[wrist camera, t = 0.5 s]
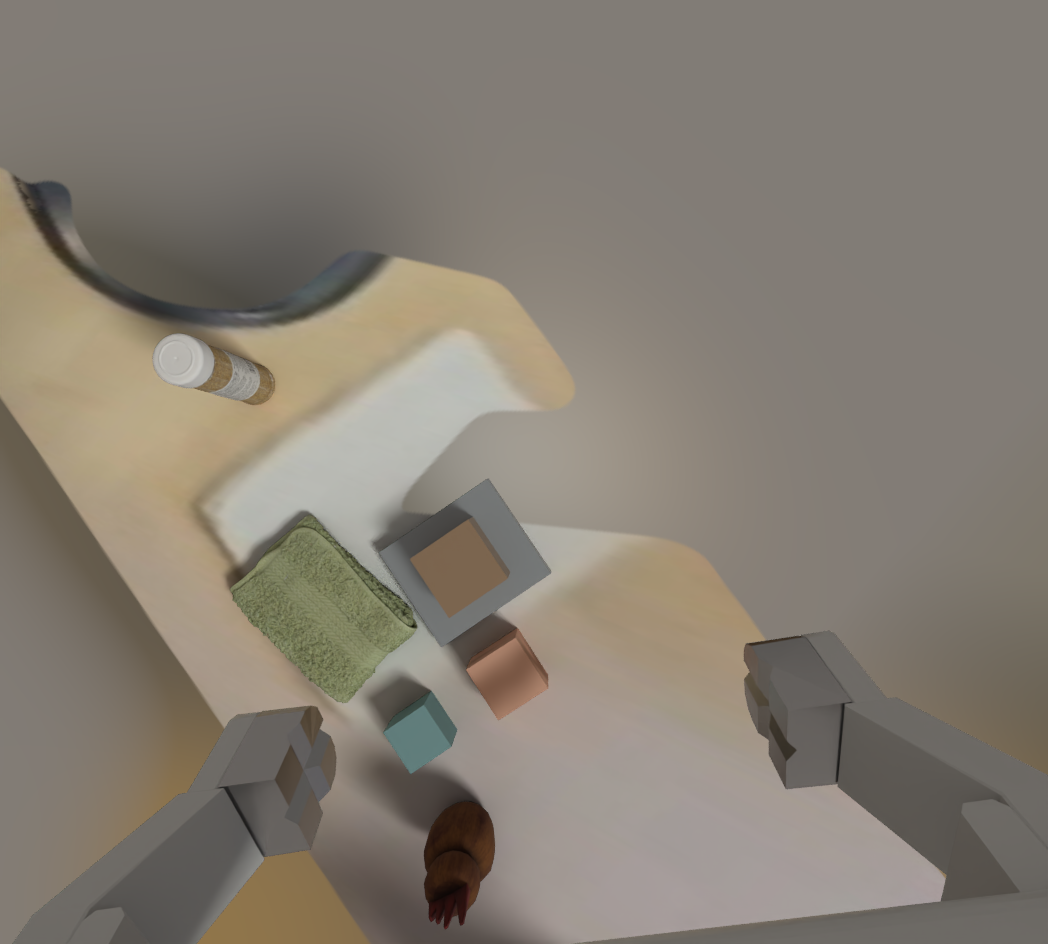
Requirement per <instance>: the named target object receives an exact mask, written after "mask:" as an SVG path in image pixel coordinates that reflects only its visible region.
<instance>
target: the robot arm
mask: <svg viewBox="0 0 1048 944" xmlns="http://www.w3.org/2000/svg"><path fill="white" fill-rule="evenodd" d="M744 662H745V663H746V665H747V667H748V669H749V671H750V672H749V673H748V675H747V676H746V677H745V679H744V686H745V696H746V701H747V706H748V710H749V712H750V715H751V718H752V721H753V723H754V725H755V727H756V729H757V731H758V733H759V734H761V735H762V736H764V737H765V738H767V739H768V740H769V756H770V758H771V760H772V762H773V764H774V766H775V768H776V770H777V772H778V774H779V776H780V778H781V780H782V782H783V784H784V786H785V788H786V789H793V788H803V787H813V786H823V785H833V784H838V787H839V788H840V789H841V790H842V791H843V792H845V793H846V794H847V795H848V796H850V797H851V798H852V799H853V800H855V801H856V802H857V803H858V804H860V805H861V806H862V807H863V808H864V809H866V810H867V811H868V812H869V813H871V814H872V815H873V816H874V817H876V818H877V819H878V820H879V821H880V822H882V823H883V824H884V825H885V826H887V827H888V828H889V829H890V830H892V831H893V832H894V833H895V834H897V835H898V836H899V837H900V838H901V839H903V840H904V841H905V842H906V843H908V844H909V845H910V846H911V847H913V848H914V849H915V850H916V851H918V852H919V853H920V854H921V855H922V856H924V857H925V858H926V859H927V860H929V861H930V862H931V863H932V864H934V865H935V866H936V867H937V868H938V869H940V870H941V871H942V872H943V873H945V874H946V875H947V876H946V880H945V885H944V889H943V894H942V898H941V902H932V903H924V904H915V905H906V906H898V907H889V908H880V909H871V910H863V911H854V912H845V913H837V914H828V915H819V916H810V917H802V918H793V919H784V920H776V921H767V922H758V923H749V924H741V925H732V926H723V927H715V928H706V929H697V930H688V931H680V932H671V933H662V934H654V935H645V936H636V937H627V938H619V939H610V940H601V941H592V942H584V943H575V944H1048V775H1047V774H1045V773H1043V772H1041V771H1039V770H1037V769H1035V768H1033V767H1031V766H1029V765H1027V764H1025V763H1023V762H1021V761H1020V760H1017V759H1016V758H1013V757H1012V756H1010V755H1008V754H1006V753H1004V752H1002V751H1000V750H998V749H996V748H994V747H992V746H990V745H988V744H986V743H984V742H982V741H980V740H978V739H977V738H975V737H973V736H971V735H969V734H967V733H965V732H963V731H961V730H959V729H957V728H955V727H953V726H951V725H949V724H947V723H945V722H943V721H941V720H939V719H937V718H935V717H934V716H931V715H930V714H928V713H926V712H924V711H922V710H920V709H918V708H916V707H914V706H912V705H910V704H908V703H906V702H904V701H902V700H900V699H898V698H887V697H886V696H885V695H884V694H883V692H882V691H881V690H880V689H879V688H878V686H877V685H876V684H875V683H874V681H873V680H872V679H871V678H870V676H868V674H867V673H866V671H864V669H863V668H862V667H861V665H860V664H859V663H858V662H857V660H856V659H855V658H854V657H853V655H852V654H851V653H850V652H849V650H848V649H847V648H846V647H845V646H844V645H843V643H842V642H841V641H840V639H839V638H838V637H837V636H836V634H834V633H833V632H831V631H823V632H818V633H811V634H804V635H801V636H793V637H786V638H779V639H773V640H766V641H760V642H753V643H746V645H745V648H744ZM322 722H323V718H322V716H321V714H320V712H319V710H318V708H317V707H315V706H303V707H294V708H286V709H277V710H269V711H262V712H257V713H248V714H238V715H236V716H235V717H234V718H232V719H231V720H230V721H229V722H228V724H227V726H226V728H225V729H224V731H223V733H222V734H221V736H220V738H219V739H218V741H217V743H216V744H215V746H214V748H213V750H212V751H211V753H210V755H209V756H208V758H207V760H206V762H205V763H204V765H203V766H202V768H201V770H200V772H199V773H198V775H197V777H196V778H195V780H194V782H193V784H192V785H191V787H190V789H189V790H188V792H187V793H183V794H178V795H177V796H176V797H175V798H173V799H172V800H171V801H170V802H169V803H168V804H166V805H165V806H164V807H163V808H161V809H160V810H159V811H158V812H157V813H155V814H154V815H153V816H152V817H151V818H149V819H148V820H147V821H146V822H145V823H143V824H142V825H141V826H140V827H138V829H136V830H135V831H134V832H132V833H131V834H130V835H129V836H128V837H127V838H125V839H124V840H123V841H122V842H120V843H119V844H118V845H117V846H116V847H114V848H113V849H112V850H111V851H110V852H108V853H107V854H106V855H105V856H103V857H102V858H101V859H100V860H99V861H97V862H96V863H95V864H94V865H93V866H91V867H90V868H89V869H88V870H87V871H85V872H84V873H83V874H82V875H81V876H80V877H78V878H77V879H76V880H75V881H73V882H72V883H71V884H70V885H69V886H67V887H66V888H65V889H64V890H62V891H61V892H60V893H59V894H58V895H56V896H55V897H54V898H53V899H52V900H50V901H49V902H48V903H47V904H46V905H44V906H43V907H42V908H41V909H40V910H38V911H37V912H36V913H35V914H33V915H32V917H31V918H30V920H29V921H28V923H27V924H26V925H25V927H24V928H23V930H22V931H21V933H20V934H19V935H18V937H17V938H16V939H15V941H14V942H13V944H196V943H197V942H198V941H199V940H200V939H201V938H202V936H203V935H204V934H205V933H206V931H207V930H208V929H209V927H210V926H211V925H212V924H213V923H214V921H215V920H216V919H217V918H218V917H219V915H220V914H221V913H222V912H223V910H224V909H225V908H226V907H227V905H228V904H229V903H230V902H231V901H232V899H233V898H234V897H235V896H236V894H237V893H238V892H239V891H240V889H241V888H242V887H243V886H244V884H245V883H246V882H247V881H248V879H249V878H250V877H251V876H252V874H253V873H254V872H255V871H256V870H257V868H258V867H259V866H260V865H261V864H262V862H263V861H264V857H267V856H273V855H279V854H286V853H292V852H299V851H305V850H311V847H312V844H313V841H314V838H315V835H316V832H317V829H318V826H319V823H320V820H321V817H322V814H323V812H322V809H321V807H320V805H319V801H320V800H321V799H322V798H323V797H324V796H325V795H326V794H327V793H328V792H329V791H330V790H331V787H332V783H333V780H334V777H335V771H336V752H335V746H334V743H333V741H332V738H331V736H329V735H328V734H326V733H325V732H323V731H322V730H320V727H321V724H322Z"/></svg>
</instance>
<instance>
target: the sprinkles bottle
mask: <svg viewBox="0 0 1048 944" xmlns="http://www.w3.org/2000/svg"><path fill="white" fill-rule="evenodd" d="M153 366H154V369H155V371H156V373H157V374H158V376H159V377H160V378H161V379H162V380H164V381H165V382H167V383H169V384H172V385H176V386H179V387H183V388H195V389H198V390H201V391H205V392H209V393H212V394H215V395H217V396H221V397H225V398H229V399H233V400H239V401H243V402H244V403H247V404H250V405H258V404H262V403H264V402H266V401H267V400H268V399H269V398H270V397H271V396H272V394H273V392H274V388H275V381H274V378H273V375H272V374H271V373H270V371H269V370H268V369H267V368H265V367H263V366H261V365H257V364H254V363H251V362H250V361H248V360H246V359H243V358H241V357H238V356H236V355H234V354H231V353H229V352H226V351H224V350H221V349H219V348H215V347H212V346H209V345H207V344H206V343H204V342H203V341H202V340H200V339H197V338H195V337H192V336H189V335H186V334H180V333H177V334H171V335H169V336H166V337H165V338H163V339H162V340H161V341H160V342H159V343H158V344H157V346H156V348H155V350H154V353H153Z"/></svg>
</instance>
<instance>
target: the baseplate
mask: <svg viewBox="0 0 1048 944" xmlns="http://www.w3.org/2000/svg"><path fill="white" fill-rule="evenodd" d="M379 554H380V556H381V557H382V559H383V560H384V562H385V563H386V565H387V566H388V568H389V569H390V571H391V572H392V574H393V575H394V577H395V578H396V580H397V581H398V583H399V584H400V586H401V587H402V589H403V590H404V592H405V593H406V595H407V596H408V598H409V599H410V601H411V602H412V604H413V605H414V607H415V608H416V610H417V611H418V613H419V614H420V616H421V617H422V619H423V620H424V622H425V623H426V625H427V626H428V628H429V629H430V631H431V632H432V634H433V635H434V637H435V638H436V640H437V641H438V643H439V644H440V646H441V647H443V646H444V645H446V644H447V643H449V642H450V641H452V640H453V639H455V638H456V637H457V636H459V635H460V634H462V633H463V632H465V631H466V630H468V629H469V628H471V627H472V626H474V625H475V624H477V623H478V622H480V621H481V620H483V619H484V618H486V617H487V616H489V615H490V614H492V613H493V612H494V611H496V610H497V609H499V608H500V607H502V606H503V605H505V604H506V603H508V602H509V601H511V600H512V599H514V598H515V597H517V596H518V595H520V594H521V593H523V592H524V591H526V590H527V589H529V588H530V587H531V586H533V585H534V584H536V583H537V582H539V581H540V580H542V579H543V578H545V577H546V576H548V575H549V574H551V570H550V569H549V567H548V566H547V564H546V563H545V561H544V560H543V558H542V557H541V555H540V554H539V552H538V551H537V549H536V548H535V546H534V545H533V543H532V542H531V540H530V539H529V538H528V536H527V535H526V533H525V532H524V530H523V529H522V527H521V526H520V524H519V523H518V521H517V520H516V519H515V517H514V515H513V514H512V512H511V511H510V510H509V508H508V506H507V505H506V504H505V502H504V501H503V499H502V498H501V496H500V495H499V493H498V492H497V490H496V489H495V487H494V486H493V485H492V483H491V481H490V480H489V479H486V480H485V481H483V482H482V483H480V484H479V485H477V486H476V487H475V488H473V489H471V490H470V491H469V492H467V493H466V494H464V495H463V496H461V497H460V498H458V499H457V500H456V501H454V502H452V503H451V504H449V505H448V506H446V507H445V508H444V509H442V510H441V511H439V512H438V513H436V514H435V515H433V516H432V517H430V518H429V519H427V520H426V521H424V522H423V523H422V524H420V525H419V526H417V527H416V528H414V529H413V530H411V531H410V532H408V533H407V534H405V535H404V536H402V537H401V538H400V539H398V540H397V541H395V542H394V543H392V544H391V545H389V546H388V547H386V548H385V549H383V550H382V551H380V552H379Z"/></svg>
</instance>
